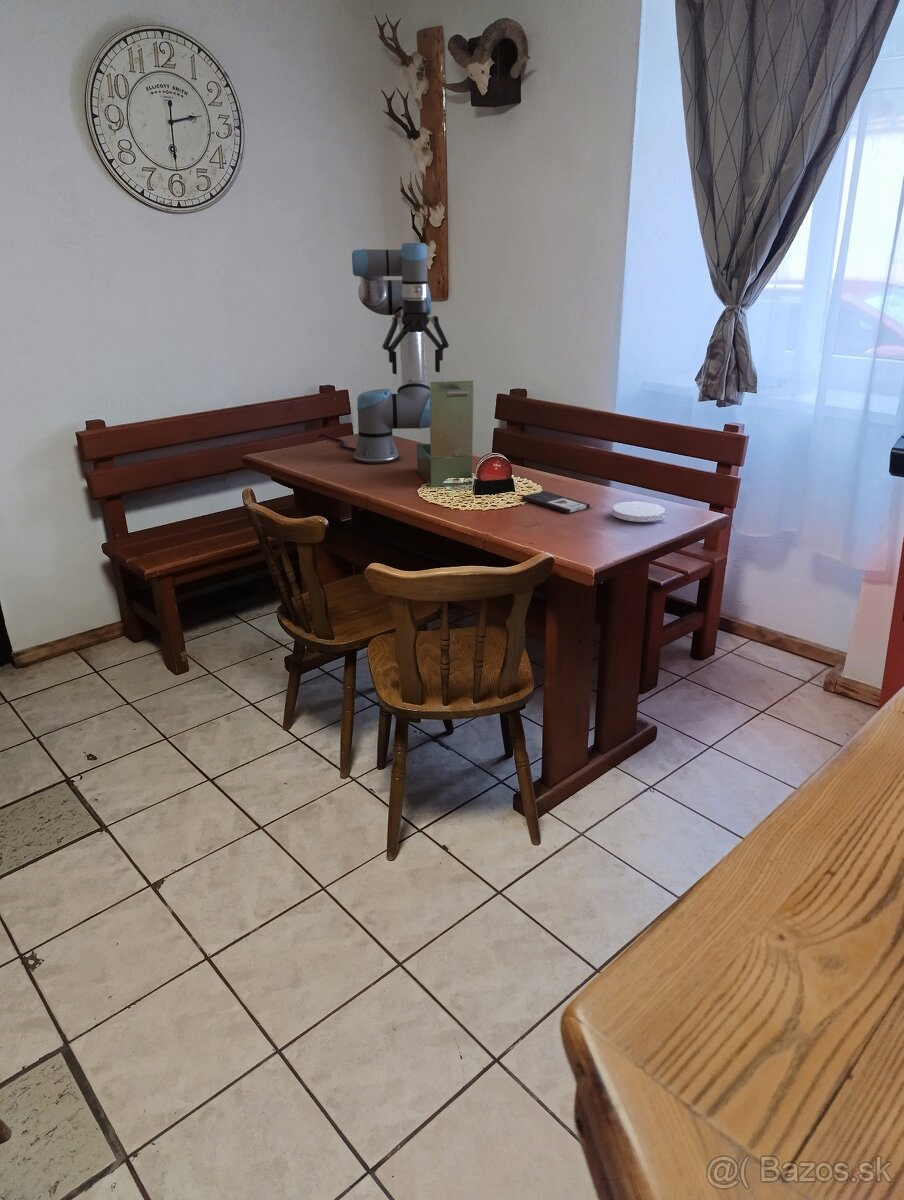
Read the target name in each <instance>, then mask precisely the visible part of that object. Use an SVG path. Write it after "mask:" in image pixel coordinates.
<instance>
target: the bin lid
mask: <svg viewBox="0 0 904 1200" xmlns="http://www.w3.org/2000/svg"><path fill="white" fill-rule="evenodd" d="M429 386H430V427H429V431H430V432H429V438H430V439H429V442H430V443H429V444H430V457H431V458H436V457H454V456H472V457H473V447H474V446H473V442H474V441H473V440H474V439H473V437H474V435H473V434H474V380H451V381H450V380H449V381H447V380H445V381H430V382H429Z"/></svg>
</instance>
